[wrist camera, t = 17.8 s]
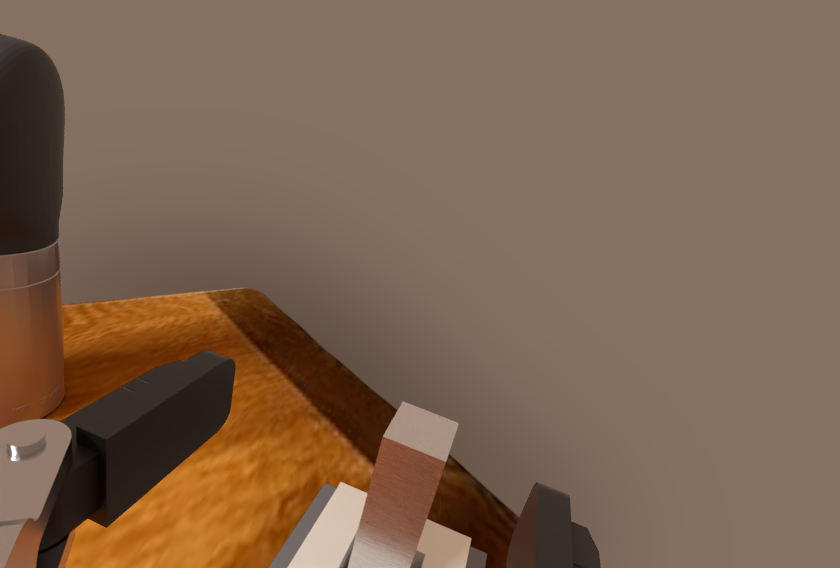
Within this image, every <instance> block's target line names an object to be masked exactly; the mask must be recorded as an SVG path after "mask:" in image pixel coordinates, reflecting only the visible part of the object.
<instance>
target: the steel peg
mask: <svg viewBox="0 0 840 568" xmlns="http://www.w3.org/2000/svg"><path fill="white" fill-rule="evenodd" d="M458 424H459V423H457V422H455V421H452V420H450V419H447V418H444V417H442V416H439V415H437V414H434V413H432V412H429V411H426V410H424V409H421V408H419V407H416V406H413V405H411V404H408V403H405V402H402V404H401V406H400V408H399V409H398V411H397V413H396V415H395V416H394V418H393V420H392V421H391V423H390V425H389V427H388V428H387V430H386V432H385V434H384V435H383V438H382V442H381V445H380V449H379V453H378V457H377V460H376V464H375V468H374V471H373V475H372V479H371V482H370V486H369V490H368V494H367V497H366V501H365V505H364V508H363V512H362V516H361V520H360V523H359V527H358V531H357V534H356V538H355V542H354V546H353V549H352V553H351V557H350V560H349V564H348V568H410V567H411V564H412V561H413V558H414V555H415V552H416V549H417V546H418V543H419V540H420V537H421V534H422V531H423V528H424V525H425V522H426V519H427V517H428V514H429V511H430V508H431V505H432V502H433V499H434V496H435V493H436V490H437V487H438V484H439V481H440V478H441V475H442V472H443V469H444V466H445V464H446V461H447V458H448V455H449V451H450V448H451V445H452V442H453V439H454V436H455V433H456V430H457V427H458Z"/></svg>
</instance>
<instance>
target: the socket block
mask: <svg viewBox="0 0 840 568" xmlns="http://www.w3.org/2000/svg"><path fill="white" fill-rule="evenodd" d="M367 494H368V493H366V492H363V491H361V490H359V489H356V488H354V487H352V486H349V485H347V484H345V483H342V482H340V484H339V486H338V487H337V488H335V487H333V486H331V485H328V484H326V483H325V484H324V485H323V487H322V488H321V490H320V491H319V493H318V494H317V496H316V497H315V499H314V500H313V502H312V503H311V505H310V506H309V508H308V509H307V511H306V512H305V514H304V515H303V517H302V518H301V520H300V521H299V523H298V524H297V526H296V527H295V529H294V530H293V532H292V533H291V535H290V536H289V538H288V539H287V541H286V542H285V544H284V545H283V547H282V548H281V550H280V551H279V553H278V554H277V556H276V557H275V559H274V560H273V562H272V563H271V565H270V566H269V568H348V564H349V560H350V557H351V553H352V549H353V546H354V542H355V538H356V534H357V531H358V527H359V523H360V520H361V516H362V512H363V508H364V505H365V501H366V497H367ZM470 543H471V538H470V537H467V536H465V535H463V534H460V533H458V532H456V531H453V530H451V529H449V528H447V527H444V526H442V525H440V524H437V523H435V522H433V521H430V520H428V519H426V522H425V525H424V528H423V531H422V534H421V537H420V540H419V543H418V546H417V549H416V552H415V555H414V558H413V561H412V564H411V567H410V568H485V564H486V558H487V553H485V552H482V551H480V550H478V549H475V548H473V547H471V546H470Z"/></svg>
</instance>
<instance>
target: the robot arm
mask: <svg viewBox="0 0 840 568" xmlns="http://www.w3.org/2000/svg"><path fill="white" fill-rule="evenodd" d="M64 111H65V106H64V95H63V88H62V84H61V80H60V76H59V74H58V72H57V69H56V67H55V65H54V63H53V61H52V60H51V58H50V57H49V56H48V55H47V54H46V53H45V52H44V51H43V50H42V49H40V48H39V47H37V46H36V45H34V44H32V43H29V42H27V41H24V40H20V39H17V38H13V37H10V36H6V35H2V34H0V568H65V566H66V563H67V559H68V556H69V553H70V550H71V547H72V544H73V541H74V536H75V528H76V527H77V526H79V525H80V524H81V523H82V522H84V521H85V520H86V519H87V518H88V519H90V520H92V521H94V522H96V523H98V524H100V525H102V526H104V527H106V528H107V527H108V526H109V525H110V524H111V523H112V522H114V521H115V520H116V519H117V518H118V517H119V516H121V515H122V514H123V513H124V512H125V511H126V510H127V509H129V508H130V507H131V506H132V505H133V504H134V503H136V502H137V501H138V500H139V499H140V498H141V497H143V496H144V495H145V494H146V493H147V492H148V491H149V490H151V489H152V488H153V487H154V486H155V485H156V484H158V483H159V482H160V481H161V480H162V479H163V478H164V477H166V476H167V475H168V474H169V473H170V472H171V471H173V470H174V469H175V468H176V467H177V466H178V465H180V464H181V463H182V462H183V461H184V460H185V459H186V458H188V457H189V456H190V455H191V454H192V453H193V452H195V451H196V450H197V449H198V448H199V447H200V446H202V445H203V444H204V443H205V442H206V441H207V440H208V439H210V438H211V437H212V436H213V435H214V434H215V433H217V432H218V431H219V430H220V428H221V427H222V426H223V424H224V423H225V421H226V419H227V417H228V415H229V412H230V408H231V401H232V392H233V384H234V375H235V362H234V360H232V359H230V358H227V357H225V356H222V355H220V354H217V353H215V352H212V351H210V350H203V351H201V352H199V353H198V354H196V355H194V356H192V357H191V358H189V359H187V360H186V361H184V362H182V361H180V360H179V361H175V362H171V363H168V364H164V365H161V366H157V367H155V368H153V369H152V370H150V371H148V372H146V373H145V374H143V375H141V376H139V377H138V379H137V380H136V379H134V380H132V381H130V382H129V383H127V384H125V385H123V387H122V388H121V389H120V388H118V389H116V390H115V391H113V392H111V393H109V394H108V395H106V396H104V397H102V398H100V399H99V400H97V401H95V402H93V403H92V404H90V405H88V406H86V407H85V408H83V409H81V410H79V411H78V412H76V413H74V414H72V415H70V416H69V417H67V418H65V419H63V420H62V421H60V422H59V421H55V420H49V419H40V418H42V417H44V416H46V415H47V414H49V413H50V412H52V411H53V410H54V409H55V408H56V407H58V406H59V404H60V403H61V402H62V400H63V398H64V395H65V383H64V350H63V324H62V300H61V273H60V251H59V216H60V210H61V204H62V197H63V147H64V125H65V124H64V121H65V113H64ZM506 568H600V559H599V551H598V549H597V547H596V545H595V543H594V541H593V539H592V537H591V535H590V533H589V531H588V529H587V528H586V527H583V526H581V525H578V524H576V523H574V522H571V512H570V498H569V495H568V494H565V493H563V492H560V491H558V490H555V489H553V488H550V487H548V486H545V485H543V484H540V483H538V482H536V483H535V485H534V486H533V489H532V490H531V493H530V495H529V497H528V500H527V502H526V504H525V507H524V509H523V511H522V513H521V516H520V518H519V520H518V522H517V525H516V527H515V529H514V532H513V535H512V538H511V542H510V546H509V550H508V555H507V563H506Z"/></svg>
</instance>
